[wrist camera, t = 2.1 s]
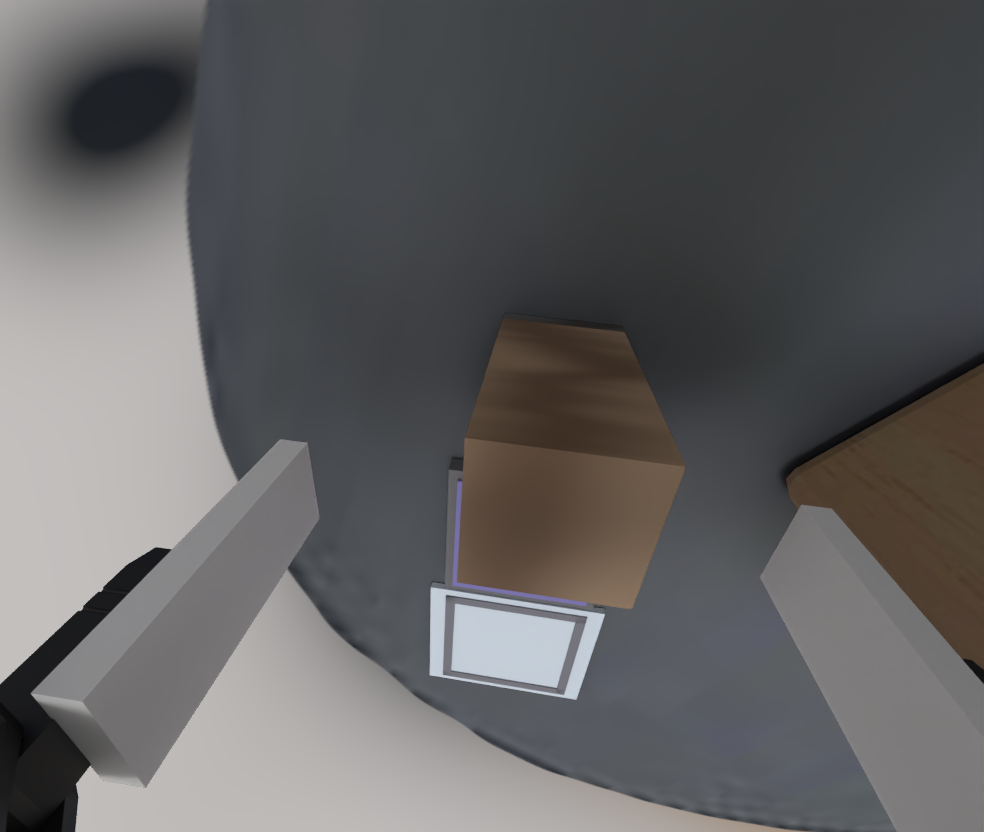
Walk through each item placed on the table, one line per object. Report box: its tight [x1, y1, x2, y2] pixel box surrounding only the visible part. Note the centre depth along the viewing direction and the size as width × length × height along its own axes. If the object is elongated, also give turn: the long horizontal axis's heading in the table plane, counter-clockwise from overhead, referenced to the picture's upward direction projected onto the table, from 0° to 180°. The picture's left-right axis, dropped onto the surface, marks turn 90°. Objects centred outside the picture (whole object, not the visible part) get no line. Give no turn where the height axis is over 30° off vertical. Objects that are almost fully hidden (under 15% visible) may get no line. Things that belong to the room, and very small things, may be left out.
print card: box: [430, 582, 605, 700], centre depth 30 cm, size 11×10×1 cm
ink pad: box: [445, 458, 594, 610], centre depth 24 cm, size 9×9×1 cm
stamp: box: [457, 313, 686, 609], centre depth 15 cm, size 5×5×10 cm
